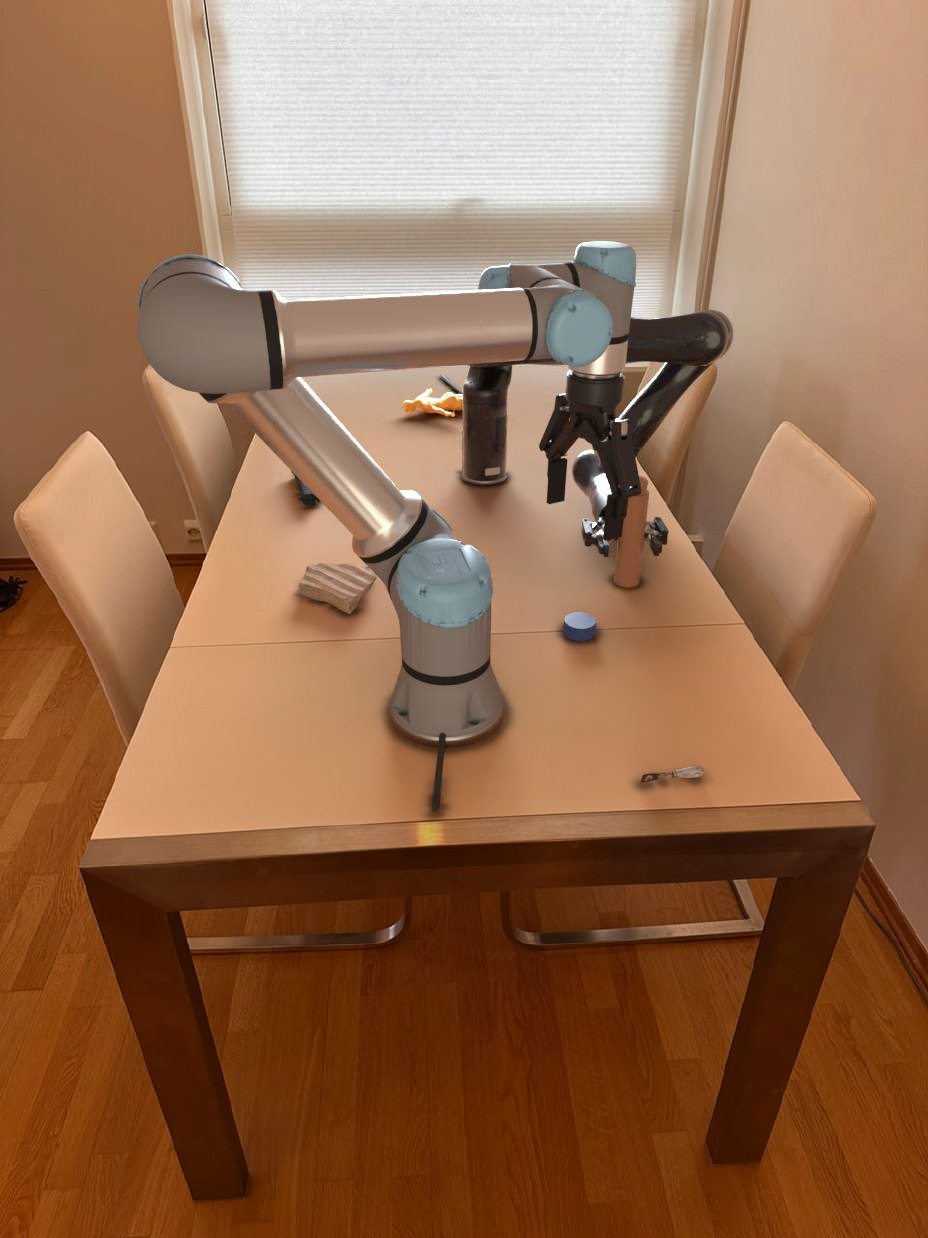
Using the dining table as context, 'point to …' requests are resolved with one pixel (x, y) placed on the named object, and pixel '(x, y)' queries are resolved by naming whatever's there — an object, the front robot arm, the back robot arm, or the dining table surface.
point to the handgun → (305, 493)
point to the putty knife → (674, 774)
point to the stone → (337, 584)
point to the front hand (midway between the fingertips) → (582, 519)
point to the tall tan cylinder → (632, 539)
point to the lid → (579, 626)
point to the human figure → (435, 403)
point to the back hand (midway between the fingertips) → (632, 551)
